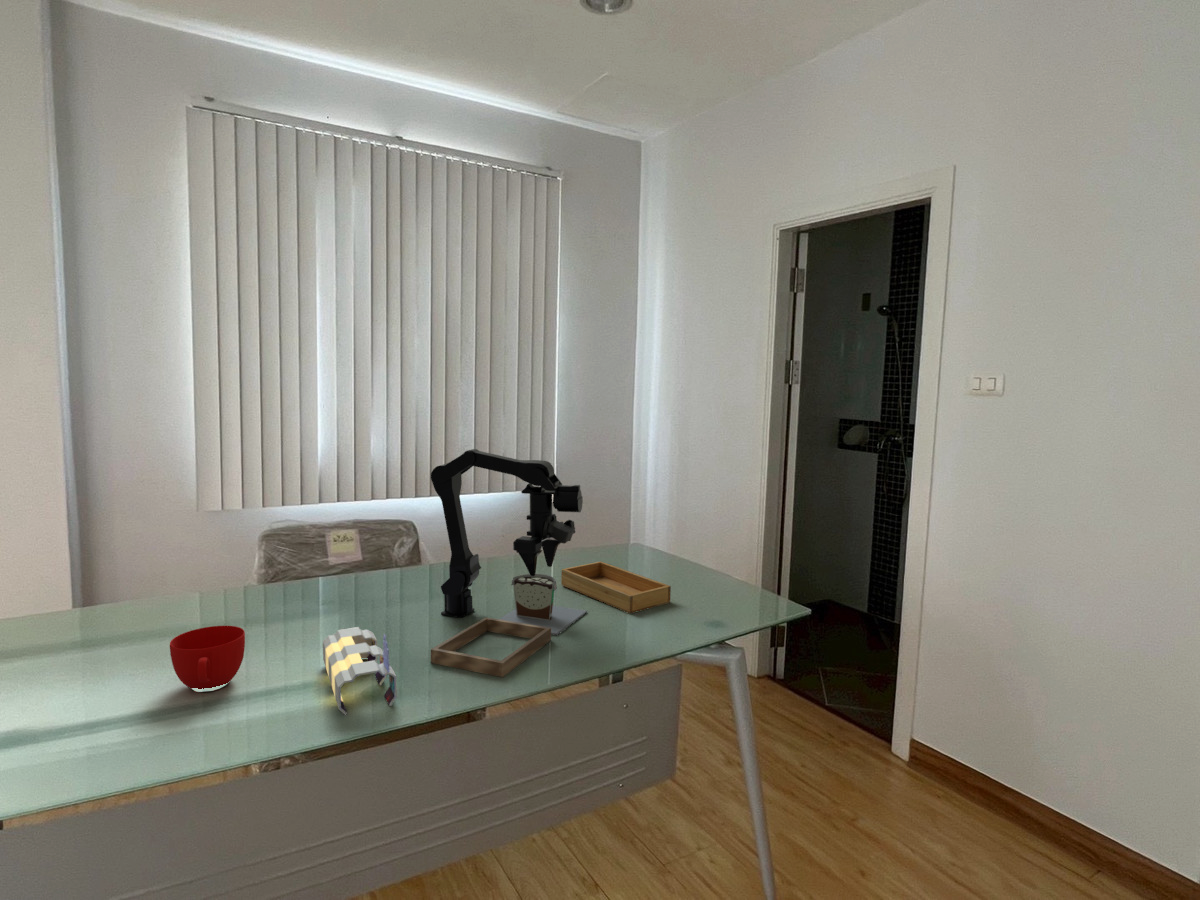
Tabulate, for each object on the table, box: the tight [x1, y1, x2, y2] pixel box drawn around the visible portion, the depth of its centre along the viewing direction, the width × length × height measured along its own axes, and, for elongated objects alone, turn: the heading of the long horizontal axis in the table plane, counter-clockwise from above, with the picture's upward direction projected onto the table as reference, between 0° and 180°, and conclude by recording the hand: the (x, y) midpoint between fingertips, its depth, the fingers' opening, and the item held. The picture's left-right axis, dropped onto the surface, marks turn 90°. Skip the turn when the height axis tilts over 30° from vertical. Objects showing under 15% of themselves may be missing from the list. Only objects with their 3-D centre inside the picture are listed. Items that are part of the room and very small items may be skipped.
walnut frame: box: [430, 616, 552, 678], centre depth 154 cm, size 18×22×3 cm
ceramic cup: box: [169, 625, 246, 689], centre depth 134 cm, size 13×17×10 cm
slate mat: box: [498, 604, 588, 636], centre depth 175 cm, size 18×18×1 cm
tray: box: [560, 561, 672, 614], centre depth 196 cm, size 31×15×6 cm, turn 39°
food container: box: [511, 573, 558, 621], centre depth 176 cm, size 12×6×10 cm, turn 69°
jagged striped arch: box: [322, 626, 398, 716], centre depth 136 cm, size 25×10×13 cm, turn 28°
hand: (541, 571), depth 174 cm, fingers open, 9 cm apart
